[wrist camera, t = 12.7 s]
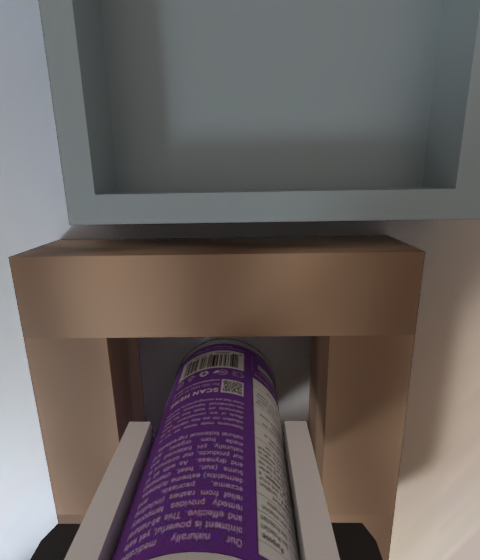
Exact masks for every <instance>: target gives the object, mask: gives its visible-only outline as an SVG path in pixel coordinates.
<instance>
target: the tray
mask: <svg viewBox="0 0 480 560" xmlns="http://www.w3.org/2000/svg"><path fill="white" fill-rule="evenodd" d="M38 1H39V8H40V15H41V22H42V30H43V37H44V44H45V51H46V59H47V66H48V73H49V80H50V87H51V95H52V102H53V109H54V116H55V123H56V131H57V138H58V145H59V152H60V159H61V167H62V174H63V181H64V188H65V195H66V203H67V210H68V217H69V224H70V225H98V224H165V223H232V222H299V221H366V220H434V219H480V0H38Z"/></svg>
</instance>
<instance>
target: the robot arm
mask: <svg viewBox="0 0 480 560" xmlns="http://www.w3.org/2000/svg"><path fill="white" fill-rule="evenodd" d="M152 443H153V440H152V429H151V422H129V424H128V426H127V428H126V430H125V432H124V434H123V436H122V438H121V440H120V443H119V445H118V447H117V449H116V451H115V453H114V455H113V457H112V459H111V462H110V464H109V466H108V468H107V470H106V472H105V474H104V476H103V478H102V481H101V483H100V485H99V487H98V489H97V491H96V493H95V495H94V498H93V500H92V502H91V504H90V506H89V508H88V510H87V512H86V514H85V517H84V519H83V521H82V523H81V524H57V525H56V526H55V527H54V528H53V529H52V530H51V531H50V533H49V534H48V535H47V536H46V537H45V538H44V539H43V540H42V541H41V542H40V544H39V546H38V547H37V549H36V551H35V553H34V554H33V556H32V558H31V560H112V558H113V555H114V552H115V549H116V546H117V543H118V541H119V538H120V535H121V532H122V529H123V526H124V523H125V521H126V518H127V515H128V512H129V509H130V506H131V503H132V501H133V498H134V495H135V492H136V489H137V486H138V483H139V481H140V478H141V475H142V472H143V469H144V466H145V463H146V461H147V458H148V455H149V452H150V449H151V446H152ZM284 451H285V458H286V465H287V472H288V479H289V487H290V494H291V501H292V508H293V515H294V522H295V529H296V537H297V544H298V551H299V558H300V560H383V559H382V556H381V553H380V550H379V548H378V545H377V542H376V540H375V539H374V537H373V536H372V535H371V534H370V532H369V531H368V530H367V528H366V527H365V526H364V525H363V523H331V520H330V516H329V512H328V508H327V504H326V500H325V495H324V491H323V487H322V483H321V479H320V475H319V471H318V467H317V463H316V459H315V454H314V450H313V446H312V442H311V438H310V434H309V430H308V426H307V422H306V421H285V422H284Z"/></svg>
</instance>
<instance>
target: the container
mask: <svg viewBox="0 0 480 560" xmlns="http://www.w3.org/2000/svg"><path fill="white" fill-rule="evenodd" d="M112 560H300V558H299V551H298V544H297V537H296V529H295V522H294V515H293V508H292V501H291V494H290V487H289V479H288V472H287V465H286V458H285V451H284V444H283V437H282V430H281V423H280V415H279V408H278V401H277V394H276V387H275V381H274V376H273V372H272V369H271V366H270V365H269V363H268V361H267V360H266V358H265V357H264V356H263V355H262V354H261V353H260V352H259V351H258V350H257V349H255V348H254V347H252V346H250V345H248V344H246V343H244V342H241V341H237V340H231V339H218V340H212V341H209V342H206V343H203V344H201V345H199V346H198V347H196V348H195V349H193V350H192V351H191V352H190V353H189V354H188V355H187V356H186V357H185V358H184V360H183V361H182V363H181V365H180V367H179V370H178V372H177V375H176V378H175V381H174V384H173V386H172V389H171V392H170V395H169V398H168V401H167V404H166V406H165V409H164V412H163V415H162V418H161V421H160V423H159V426H158V429H157V432H156V435H155V438H154V441H153V443H152V446H151V449H150V452H149V455H148V458H147V461H146V463H145V466H144V469H143V472H142V475H141V478H140V481H139V483H138V486H137V489H136V492H135V495H134V498H133V501H132V503H131V506H130V509H129V512H128V515H127V518H126V521H125V523H124V526H123V529H122V532H121V535H120V538H119V541H118V543H117V546H116V549H115V552H114V555H113V558H112Z"/></svg>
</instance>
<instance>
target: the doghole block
mask: <svg viewBox="0 0 480 560" xmlns="http://www.w3.org/2000/svg"><path fill="white" fill-rule="evenodd" d="M424 255H425V252H424V251H422V250H420V249H417V248H415V247H413V246H410V245H408V244H406V243H403V242H401V241H399V240H396V239H394V238H392V237H390V236H387V235H376V236H305V237H234V238H163V239H92V240H57V241H54V242H51V243H48V244H45V245H42V246H40V247H37V248H34V249H31V250H28V251H25V252H22V253H19V254H16V255H14V256H11V257H9V262H10V267H11V272H12V278H13V283H14V288H15V294H16V299H17V305H18V310H19V315H20V321H21V326H22V331H23V337H24V342H25V347H26V353H27V358H28V363H29V369H30V374H31V379H32V385H33V390H34V396H35V401H36V406H37V412H38V417H39V422H40V428H41V433H42V438H43V444H44V449H45V454H46V460H47V465H48V471H49V476H50V481H51V487H52V492H53V497H54V503H55V508H56V513H57V519H58V524H81V523H82V521H83V519H84V517H85V514H86V512H87V510H88V508H89V506H90V504H91V502H92V500H93V498H94V495H95V493H96V491H97V489H98V487H99V485H100V483H101V481H102V478H103V476H104V474H105V472H106V470H107V468H108V466H109V464H110V462H111V459H112V457H113V455H114V453H115V451H116V449H117V447H118V445H119V443H120V440H121V438H122V436H123V434H124V432H125V430H126V428H127V426H128V424H129V422H146V420H145V409H144V399H143V389H142V379H141V369H140V359H139V348H138V338H142V337H255V336H312V342H311V368H310V395H309V422H308V430H309V434H310V438H311V442H312V446H313V450H314V454H315V459H316V463H317V467H318V471H319V475H320V479H321V483H322V487H323V491H324V495H325V500H326V504H327V508H328V512H329V516H330V520H331V523H363V525H364V526H365V527H366V528H367V530H368V531H369V532H370V534H371V535H372V536H373V537H374V539H375V540H376V542H377V545H378V548H379V550H380V553H381V556H382V559H383V560H389V551H390V543H391V534H392V526H393V517H394V509H395V501H396V492H397V484H398V475H399V467H400V458H401V450H402V441H403V433H404V424H405V416H406V407H407V399H408V390H409V382H410V373H411V365H412V356H413V348H414V340H415V331H416V323H417V314H418V306H419V297H420V289H421V280H422V272H423V263H424Z"/></svg>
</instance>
